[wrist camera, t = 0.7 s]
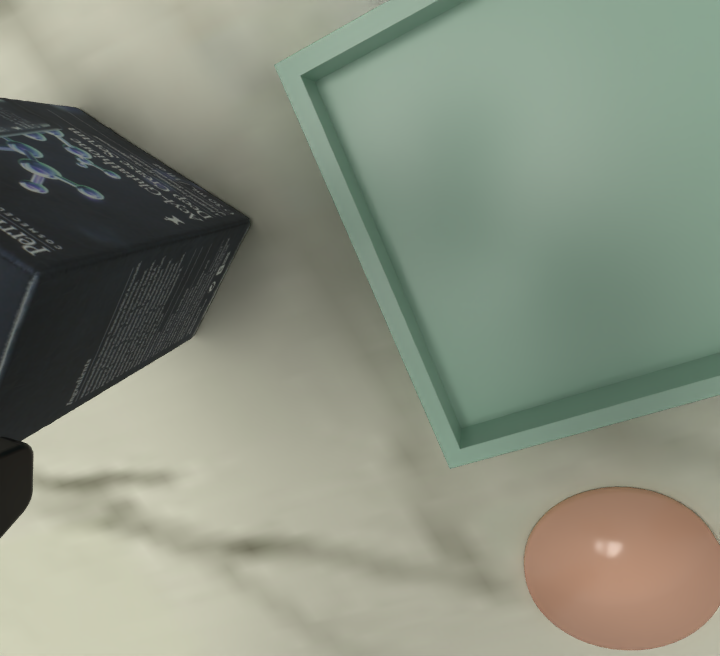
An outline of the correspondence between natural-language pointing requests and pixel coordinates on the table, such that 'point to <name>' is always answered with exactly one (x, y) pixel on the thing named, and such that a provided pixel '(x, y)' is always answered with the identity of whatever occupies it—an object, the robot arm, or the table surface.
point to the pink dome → (623, 568)
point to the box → (94, 260)
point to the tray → (529, 204)
